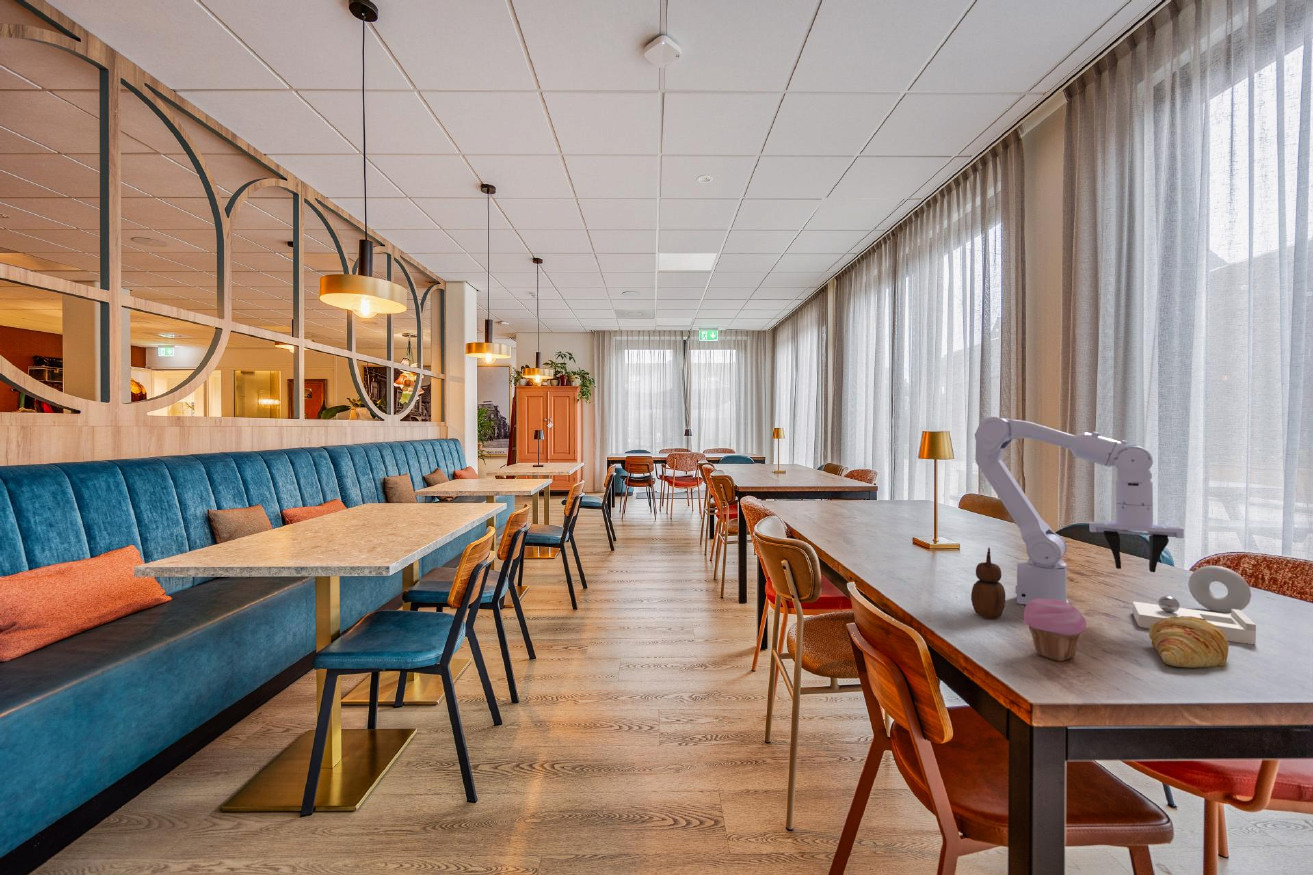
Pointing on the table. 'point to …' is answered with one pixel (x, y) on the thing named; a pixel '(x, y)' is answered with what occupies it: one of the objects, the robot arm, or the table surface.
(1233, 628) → the board
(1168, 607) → the ball
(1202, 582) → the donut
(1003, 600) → the wooden figurine
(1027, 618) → the cupcake
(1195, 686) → the table surface
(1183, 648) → the croissant
